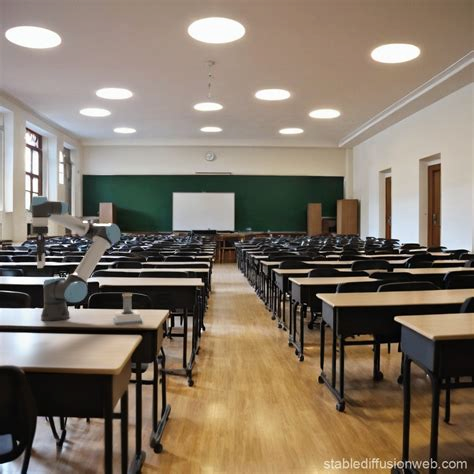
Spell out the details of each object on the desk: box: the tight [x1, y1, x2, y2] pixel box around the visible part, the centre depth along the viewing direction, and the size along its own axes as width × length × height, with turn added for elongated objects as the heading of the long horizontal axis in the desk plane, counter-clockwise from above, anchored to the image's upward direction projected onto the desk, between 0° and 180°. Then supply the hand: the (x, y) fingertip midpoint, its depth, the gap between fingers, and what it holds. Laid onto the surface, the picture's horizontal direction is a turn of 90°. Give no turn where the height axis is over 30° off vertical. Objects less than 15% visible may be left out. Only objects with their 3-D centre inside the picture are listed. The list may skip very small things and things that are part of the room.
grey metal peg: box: [121, 292, 133, 314], centre depth 242 cm, size 5×5×14 cm
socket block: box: [113, 309, 143, 326], centre depth 242 cm, size 14×14×4 cm
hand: (41, 266), depth 229 cm, fingers open, 13 cm apart
